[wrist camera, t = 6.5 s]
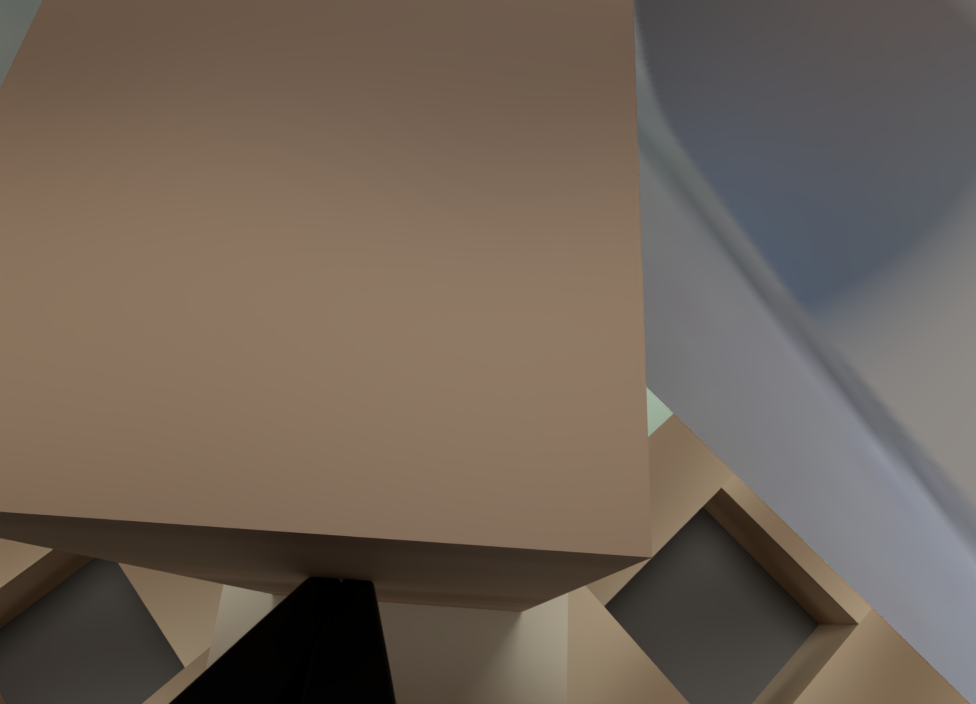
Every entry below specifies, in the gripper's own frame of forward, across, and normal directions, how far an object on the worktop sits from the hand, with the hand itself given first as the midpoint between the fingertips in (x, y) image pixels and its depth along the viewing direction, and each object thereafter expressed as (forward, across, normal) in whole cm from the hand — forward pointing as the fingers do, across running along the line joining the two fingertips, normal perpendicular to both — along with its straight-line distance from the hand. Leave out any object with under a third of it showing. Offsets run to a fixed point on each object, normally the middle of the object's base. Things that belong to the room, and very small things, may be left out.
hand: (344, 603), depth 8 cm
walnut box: (+7, 0, +2) cm, 7 cm away
